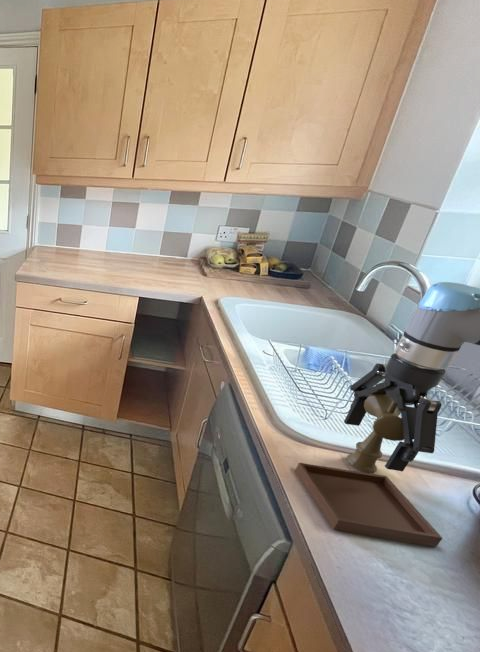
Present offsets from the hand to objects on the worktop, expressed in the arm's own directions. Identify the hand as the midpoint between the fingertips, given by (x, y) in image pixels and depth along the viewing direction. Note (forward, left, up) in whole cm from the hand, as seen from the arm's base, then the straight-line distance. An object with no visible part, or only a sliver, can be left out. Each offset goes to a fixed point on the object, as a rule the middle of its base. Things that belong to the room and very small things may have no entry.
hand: (370, 444), depth 89 cm
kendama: (0, 0, -6) cm, 6 cm away
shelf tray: (+7, +12, -6) cm, 15 cm away
